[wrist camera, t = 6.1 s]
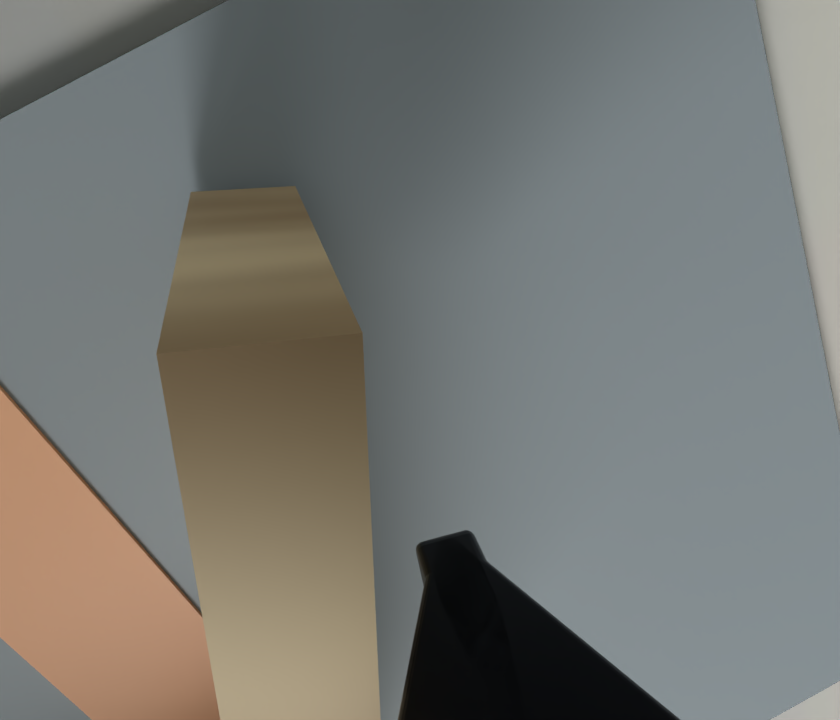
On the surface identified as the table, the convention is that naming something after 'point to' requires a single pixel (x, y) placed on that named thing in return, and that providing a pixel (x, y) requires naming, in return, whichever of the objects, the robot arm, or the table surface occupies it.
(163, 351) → the fence panel
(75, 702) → the card
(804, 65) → the table surface
